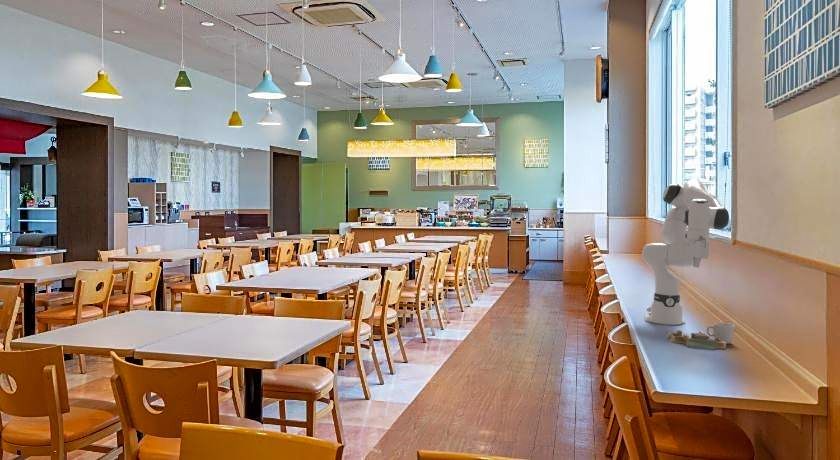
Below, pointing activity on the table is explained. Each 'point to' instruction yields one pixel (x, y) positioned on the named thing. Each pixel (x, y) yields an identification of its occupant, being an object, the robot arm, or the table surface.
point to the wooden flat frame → (696, 341)
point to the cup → (722, 331)
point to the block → (698, 336)
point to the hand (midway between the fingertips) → (696, 267)
